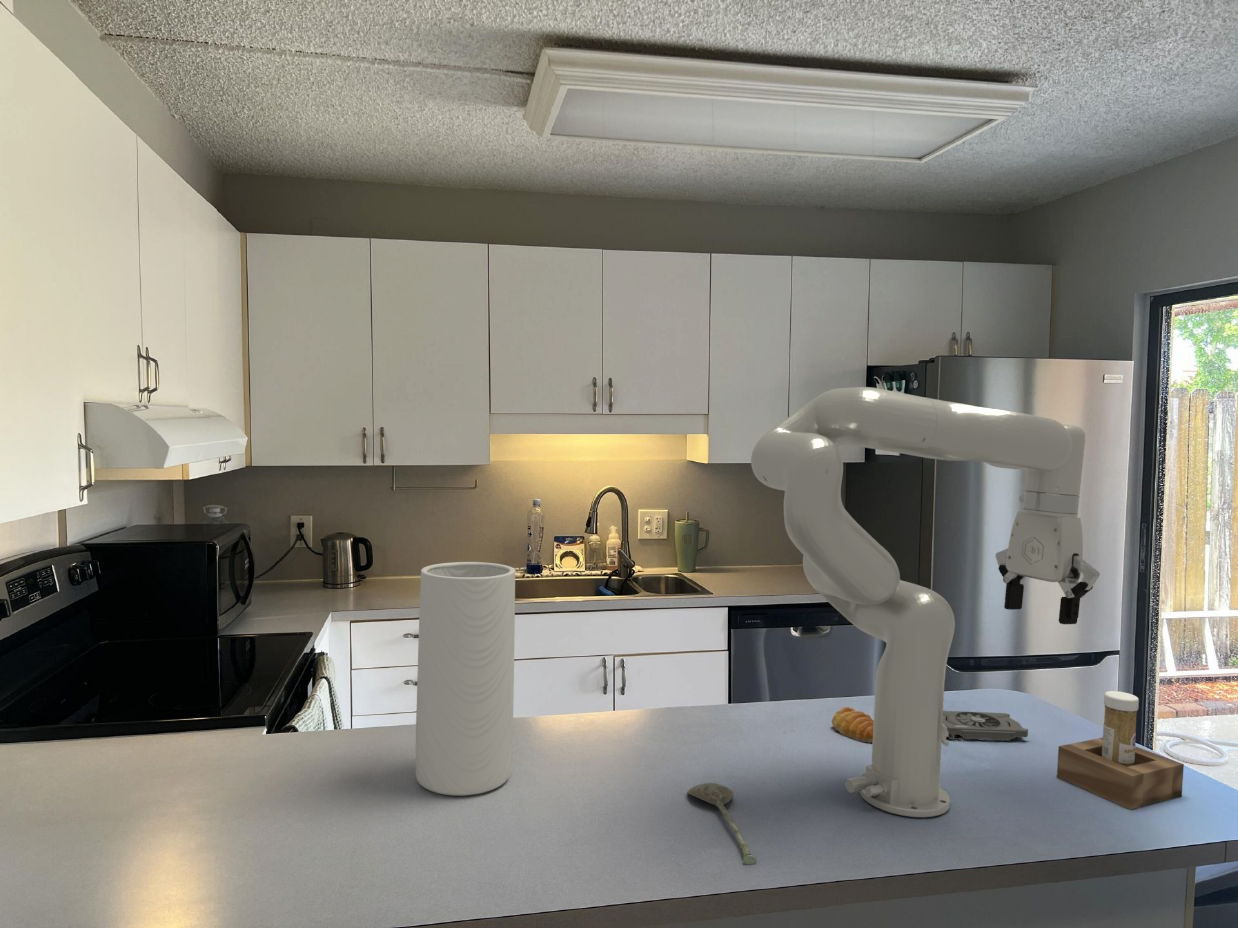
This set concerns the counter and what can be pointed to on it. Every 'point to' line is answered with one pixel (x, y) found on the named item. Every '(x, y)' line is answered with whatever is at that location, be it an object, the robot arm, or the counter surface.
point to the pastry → (854, 724)
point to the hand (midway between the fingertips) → (1039, 616)
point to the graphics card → (980, 726)
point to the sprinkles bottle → (1120, 727)
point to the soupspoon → (722, 810)
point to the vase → (465, 677)
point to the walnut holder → (1120, 774)
